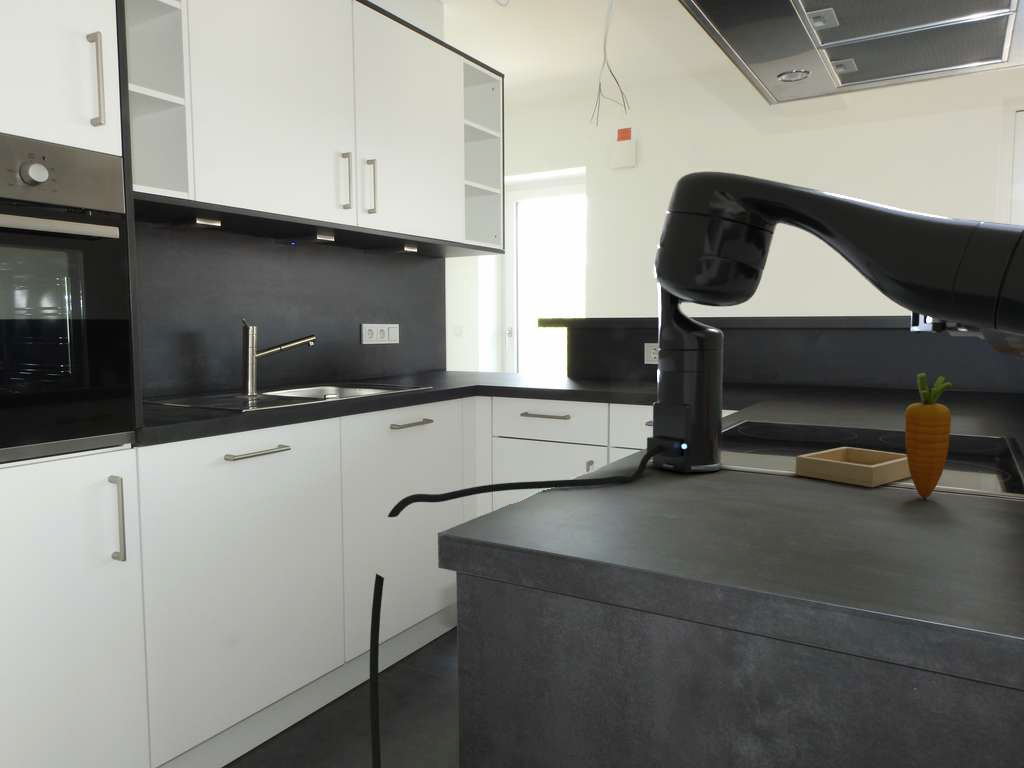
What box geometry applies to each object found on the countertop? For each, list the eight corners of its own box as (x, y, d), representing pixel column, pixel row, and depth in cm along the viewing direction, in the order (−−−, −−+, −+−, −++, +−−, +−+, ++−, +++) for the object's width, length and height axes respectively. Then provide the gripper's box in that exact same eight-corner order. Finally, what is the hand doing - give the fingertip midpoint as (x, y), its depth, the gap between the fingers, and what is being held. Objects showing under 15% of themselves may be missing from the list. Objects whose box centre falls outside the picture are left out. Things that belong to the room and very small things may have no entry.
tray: (872, 487, 92) (873, 467, 91) (795, 474, 100) (795, 456, 100) (918, 474, 100) (919, 455, 100) (844, 463, 108) (844, 446, 108)
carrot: (936, 494, 88) (941, 371, 87) (957, 503, 83) (962, 374, 82) (893, 493, 88) (898, 371, 87) (911, 502, 83) (917, 373, 82)
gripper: (953, 361, 60) (894, 355, 75) (1153, 362, 57) (1048, 356, 72) (957, 270, 59) (896, 284, 75) (1159, 266, 56) (1052, 281, 72)
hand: (971, 319), depth 74 cm, fingers open, 8 cm apart
